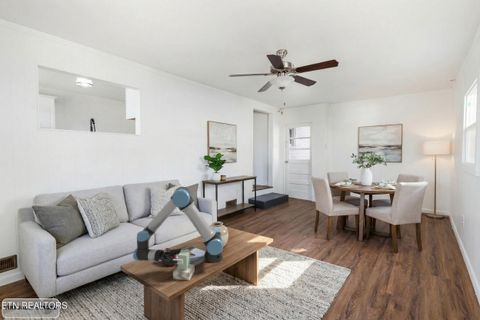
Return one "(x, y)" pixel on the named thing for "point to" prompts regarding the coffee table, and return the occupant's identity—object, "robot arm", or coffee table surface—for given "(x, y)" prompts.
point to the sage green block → (184, 260)
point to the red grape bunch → (172, 256)
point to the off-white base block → (184, 273)
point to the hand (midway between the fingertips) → (186, 257)
